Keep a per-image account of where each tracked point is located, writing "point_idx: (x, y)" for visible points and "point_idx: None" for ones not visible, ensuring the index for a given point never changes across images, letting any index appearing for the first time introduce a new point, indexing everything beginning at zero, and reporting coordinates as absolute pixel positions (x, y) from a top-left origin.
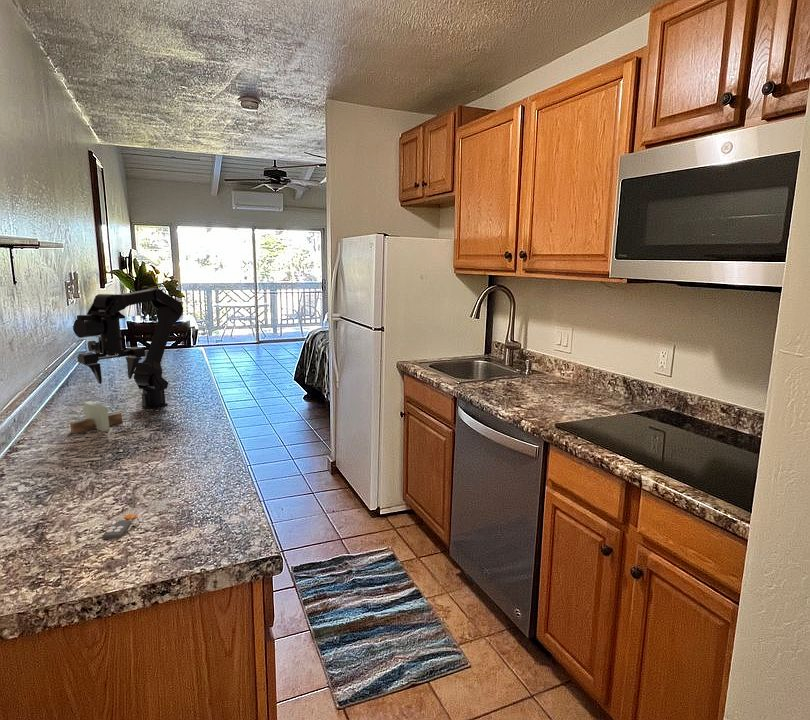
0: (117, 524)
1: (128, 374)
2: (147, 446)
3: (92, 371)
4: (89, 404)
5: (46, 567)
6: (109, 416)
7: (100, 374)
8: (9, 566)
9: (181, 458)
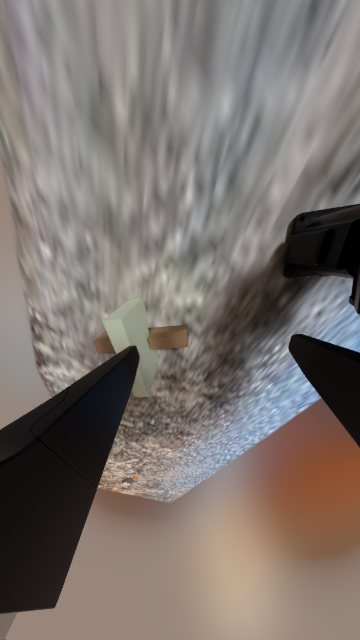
0: (128, 482)
1: (312, 356)
2: (176, 426)
3: (42, 409)
4: (116, 352)
5: (102, 481)
6: (163, 347)
7: (114, 426)
8: None
9: (187, 454)
